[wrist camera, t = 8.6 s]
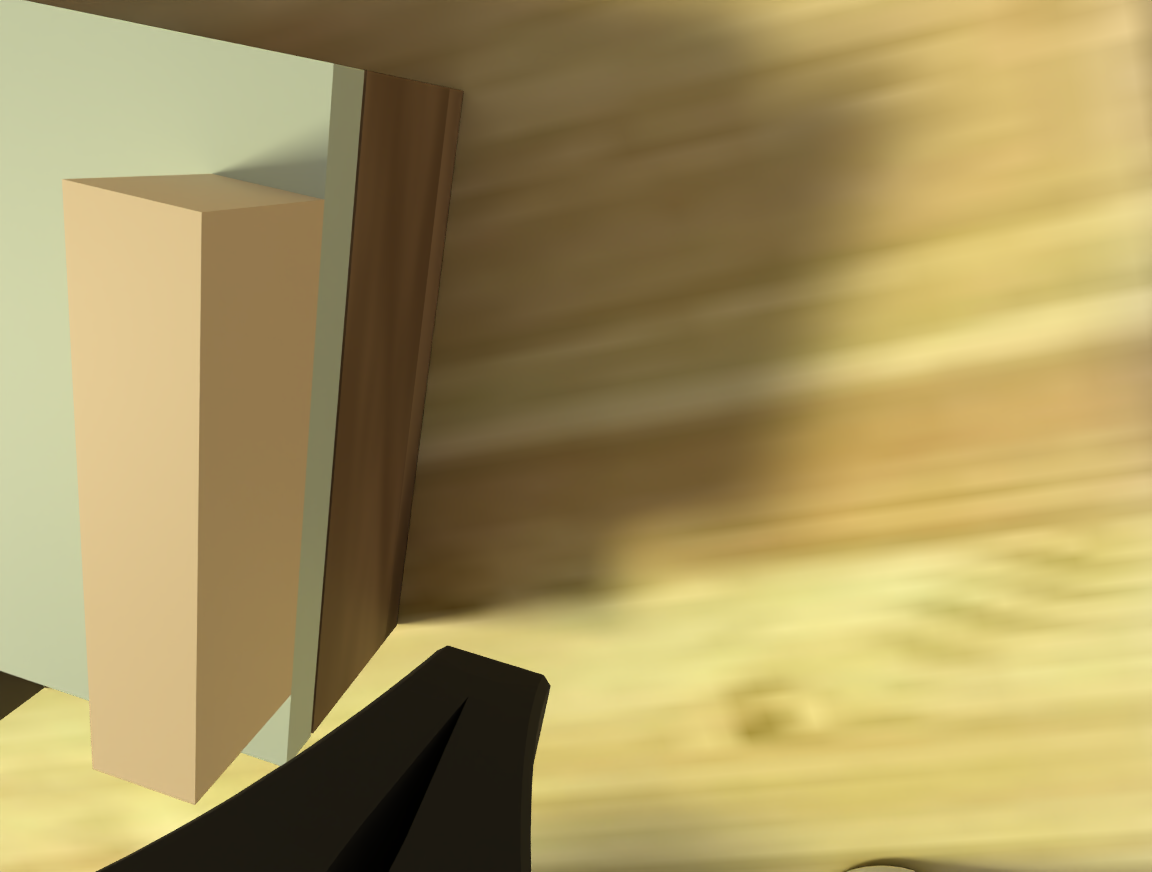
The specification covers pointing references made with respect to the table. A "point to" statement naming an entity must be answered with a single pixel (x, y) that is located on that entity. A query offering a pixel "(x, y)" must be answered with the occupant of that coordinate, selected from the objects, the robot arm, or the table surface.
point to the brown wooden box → (383, 366)
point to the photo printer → (881, 869)
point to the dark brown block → (15, 692)
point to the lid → (169, 381)
